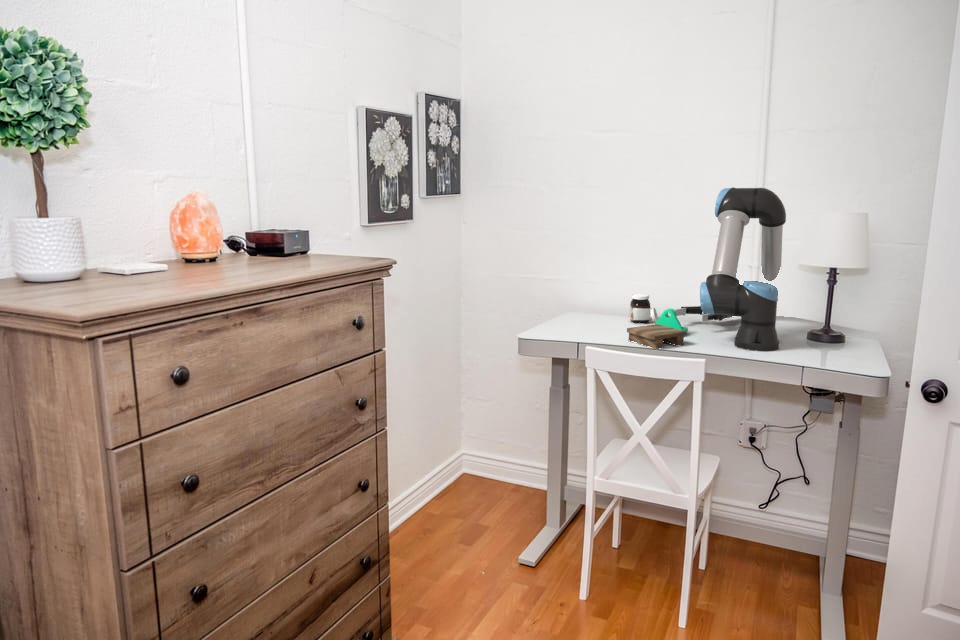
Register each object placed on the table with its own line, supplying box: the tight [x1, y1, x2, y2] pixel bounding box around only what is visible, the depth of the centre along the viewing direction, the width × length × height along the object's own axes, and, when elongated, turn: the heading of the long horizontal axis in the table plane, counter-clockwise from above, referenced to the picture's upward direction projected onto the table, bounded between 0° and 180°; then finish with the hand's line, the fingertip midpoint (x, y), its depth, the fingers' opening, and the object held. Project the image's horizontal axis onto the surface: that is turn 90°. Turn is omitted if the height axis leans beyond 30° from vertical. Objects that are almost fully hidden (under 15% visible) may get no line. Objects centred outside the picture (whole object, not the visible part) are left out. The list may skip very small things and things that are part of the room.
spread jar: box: [629, 293, 659, 325], centre depth 291 cm, size 12×11×12 cm
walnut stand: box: [626, 324, 687, 350], centre depth 255 cm, size 15×15×5 cm
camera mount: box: [653, 308, 689, 333], centre depth 271 cm, size 12×8×10 cm, turn 56°
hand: (687, 315), depth 276 cm, fingers open, 13 cm apart
